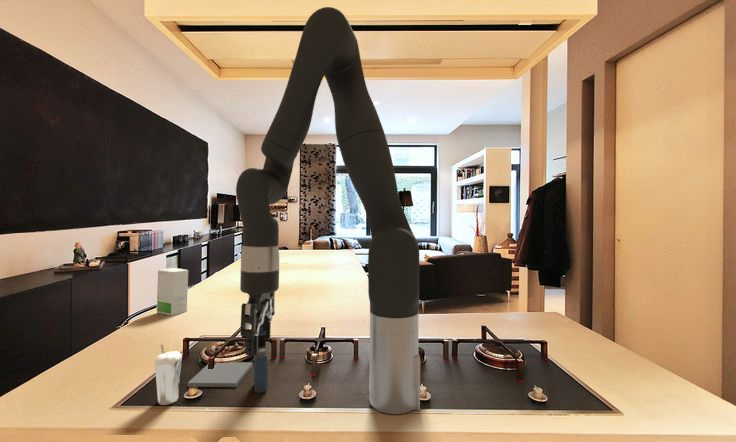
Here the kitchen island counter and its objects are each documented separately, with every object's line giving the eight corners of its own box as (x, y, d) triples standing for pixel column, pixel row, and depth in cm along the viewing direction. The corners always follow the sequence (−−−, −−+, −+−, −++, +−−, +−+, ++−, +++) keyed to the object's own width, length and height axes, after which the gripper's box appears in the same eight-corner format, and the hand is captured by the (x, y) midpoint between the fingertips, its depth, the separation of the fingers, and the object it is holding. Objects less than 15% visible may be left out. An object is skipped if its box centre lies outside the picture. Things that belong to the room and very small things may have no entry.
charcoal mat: (252, 365, 81) (252, 362, 81) (236, 387, 71) (236, 383, 71) (210, 365, 81) (210, 362, 81) (187, 386, 71) (187, 382, 71)
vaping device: (265, 380, 74) (266, 324, 74) (268, 392, 69) (268, 332, 69) (253, 382, 73) (253, 326, 73) (254, 394, 68) (254, 334, 68)
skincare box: (156, 313, 124) (156, 269, 123) (172, 308, 130) (172, 267, 130) (172, 316, 120) (172, 271, 120) (188, 311, 126) (188, 268, 126)
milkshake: (174, 390, 69) (174, 341, 69) (186, 399, 66) (185, 347, 66) (148, 400, 66) (148, 347, 66) (159, 410, 62) (159, 355, 62)
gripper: (268, 274, 63) (266, 361, 64) (286, 263, 78) (285, 334, 78) (227, 273, 63) (226, 360, 64) (253, 262, 78) (252, 334, 78)
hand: (258, 346), depth 71 cm, fingers open, 8 cm apart
